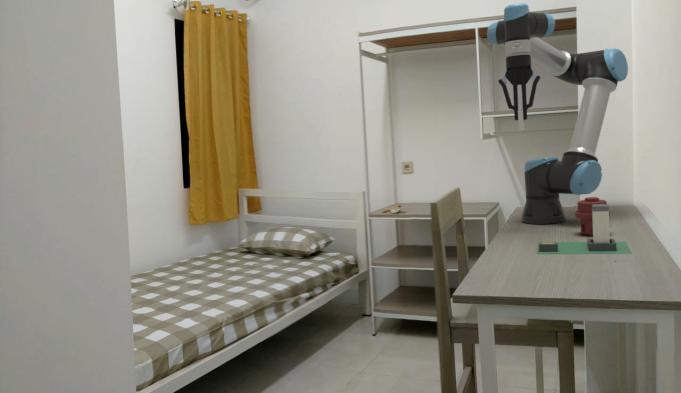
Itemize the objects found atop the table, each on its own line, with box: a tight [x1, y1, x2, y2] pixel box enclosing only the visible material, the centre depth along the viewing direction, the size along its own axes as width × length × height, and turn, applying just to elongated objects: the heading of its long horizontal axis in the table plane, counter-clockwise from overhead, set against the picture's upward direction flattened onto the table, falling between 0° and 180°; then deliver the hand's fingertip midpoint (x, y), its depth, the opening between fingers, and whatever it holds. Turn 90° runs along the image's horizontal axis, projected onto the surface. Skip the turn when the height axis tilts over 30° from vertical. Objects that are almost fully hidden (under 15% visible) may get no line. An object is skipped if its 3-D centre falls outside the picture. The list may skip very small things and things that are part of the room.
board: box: [536, 238, 633, 255], centre depth 174 cm, size 16×24×3 cm, turn 71°
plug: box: [592, 203, 611, 243], centre depth 171 cm, size 4×4×12 cm
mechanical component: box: [574, 196, 611, 237], centre depth 191 cm, size 12×10×10 cm
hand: (521, 130), depth 196 cm, fingers closed
